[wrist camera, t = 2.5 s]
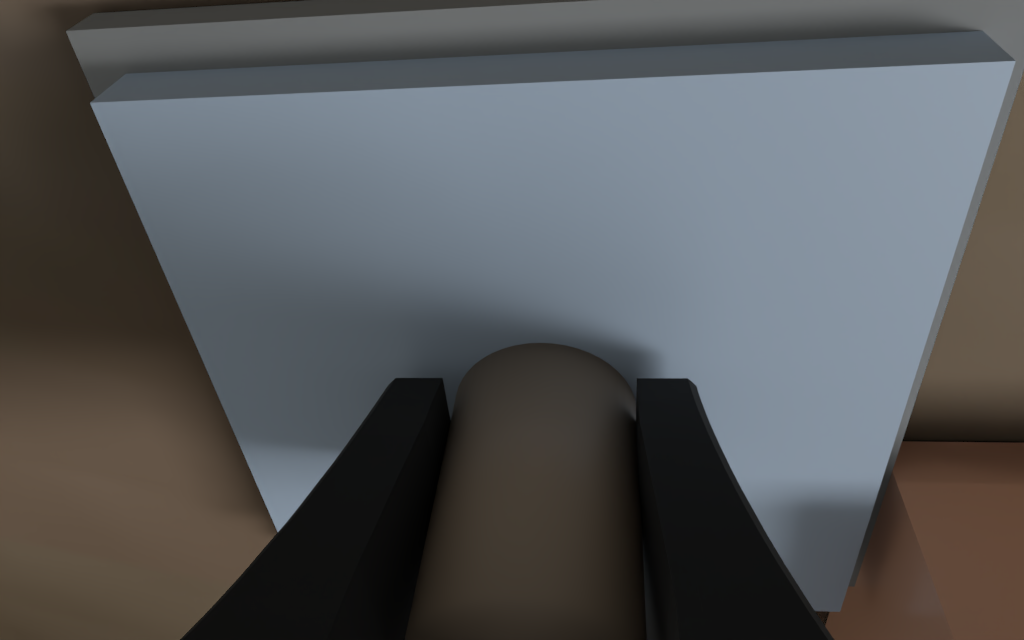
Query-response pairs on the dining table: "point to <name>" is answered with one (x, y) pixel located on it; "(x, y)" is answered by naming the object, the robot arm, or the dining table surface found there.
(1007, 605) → the orange open box
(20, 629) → the dining table surface
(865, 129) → the lid
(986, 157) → the mat
